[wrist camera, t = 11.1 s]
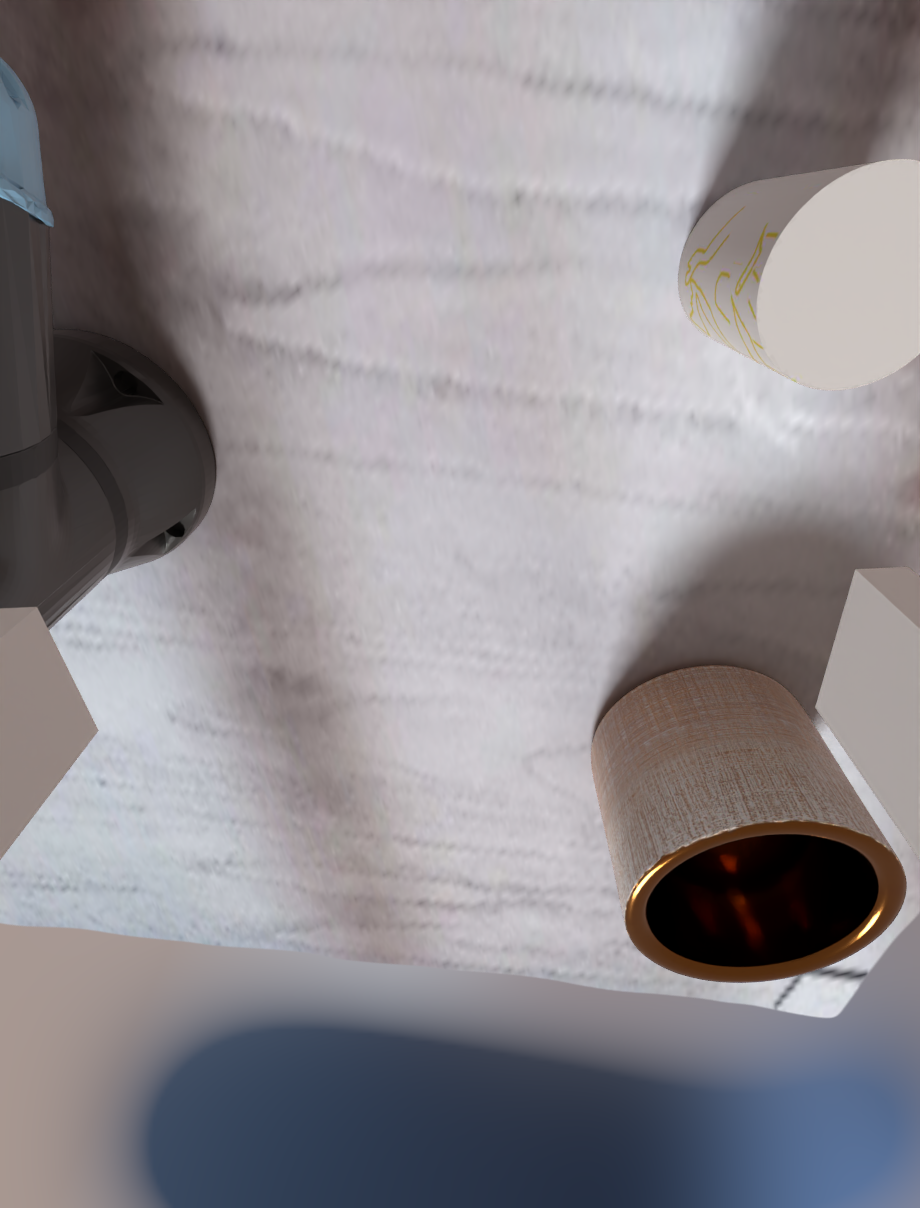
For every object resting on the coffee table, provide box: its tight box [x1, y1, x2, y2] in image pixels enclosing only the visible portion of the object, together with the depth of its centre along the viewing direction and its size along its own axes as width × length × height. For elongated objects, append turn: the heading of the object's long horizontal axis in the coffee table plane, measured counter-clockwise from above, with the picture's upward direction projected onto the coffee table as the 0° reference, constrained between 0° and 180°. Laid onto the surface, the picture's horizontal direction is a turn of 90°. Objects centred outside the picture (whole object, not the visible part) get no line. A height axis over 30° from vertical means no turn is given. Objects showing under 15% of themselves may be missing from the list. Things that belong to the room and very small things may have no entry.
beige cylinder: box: [678, 159, 920, 391], centre depth 30 cm, size 8×8×12 cm
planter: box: [591, 665, 906, 983], centre depth 47 cm, size 18×18×16 cm
